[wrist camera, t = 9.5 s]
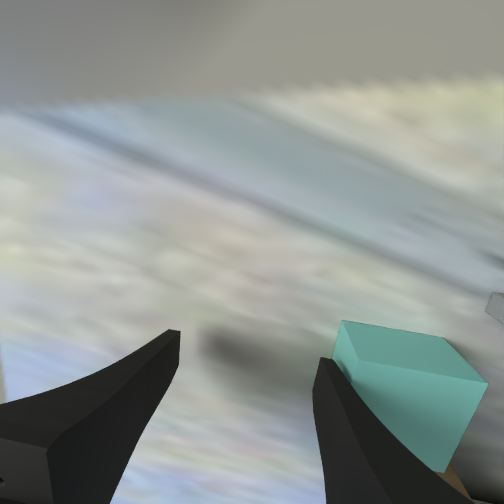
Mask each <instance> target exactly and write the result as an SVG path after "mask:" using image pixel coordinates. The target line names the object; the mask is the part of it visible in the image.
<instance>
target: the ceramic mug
mask: <svg viewBox="0 0 504 504" xmlns="http://www.w3.org/2000/svg"><path fill="white" fill-rule="evenodd" d="M472 501H473V502H474V503H475V504H491V503H487V502H483V501H478V500H473V499H472Z"/></svg>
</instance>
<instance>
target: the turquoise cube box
mask: <svg viewBox="0 0 504 504" xmlns="http://www.w3.org/2000/svg"><path fill="white" fill-rule="evenodd" d="M332 359H333V360H334V361H335V362H336V364H337V365H338V367H339V368H340V370H341V371H342V372H343V374H344V375H345V377H346V378H347V380H348V381H349V382H350V384H351V385H352V387H353V388H354V389H355V391H356V392H357V393H358V395H359V396H360V397H361V399H362V400H363V401H364V402H365V404H366V405H367V406H368V407H369V408H370V410H371V411H372V412H373V413H374V414H375V416H376V417H377V418H378V419H379V420H380V421H381V422H382V423H383V424H384V425H385V426H386V428H387V429H388V430H389V431H390V432H391V433H392V434H393V435H394V436H395V437H396V438H397V439H398V440H399V441H400V442H401V443H402V444H403V445H404V446H405V447H406V448H408V449H409V450H410V451H411V452H412V453H413V454H414V455H415V456H416V457H417V458H418V459H420V460H421V461H422V462H423V463H424V464H425V465H426V466H428V467H429V468H430V469H431V470H432V471H436V472H441V473H444V472H445V470H446V468H447V466H448V464H449V462H450V460H451V458H452V456H453V454H454V452H455V450H456V448H457V446H458V444H459V442H460V440H461V438H462V436H463V434H464V432H465V430H466V428H467V426H468V424H469V422H470V420H471V418H472V416H473V414H474V412H475V410H476V408H477V406H478V404H479V402H480V400H481V398H482V396H483V394H484V392H485V390H486V388H487V386H488V383H487V381H486V380H485V379H484V378H483V377H482V376H481V375H480V374H479V373H478V372H477V371H476V370H475V369H474V368H473V367H472V366H471V365H470V364H469V363H468V362H467V361H466V360H465V359H464V358H463V357H462V356H461V355H460V354H459V353H458V352H457V351H456V350H455V349H454V348H453V347H452V346H451V345H450V344H449V343H448V342H447V341H446V340H445V339H444V338H442V337H436V336H430V335H425V334H419V333H413V332H407V331H402V330H396V329H390V328H384V327H379V326H373V325H367V324H361V323H355V322H350V321H344V320H342V322H341V326H340V330H339V333H338V337H337V341H336V345H335V348H334V352H333V356H332Z"/></svg>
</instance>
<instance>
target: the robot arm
mask: <svg viewBox="0 0 504 504" xmlns="http://www.w3.org/2000/svg"><path fill="white" fill-rule="evenodd" d="M180 333H181V331H176V330H171V329H168V330H167V331H165V332H164V333H162V334H161V335H159V336H158V337H156V338H155V339H153V340H152V341H150V342H149V343H147V344H146V345H144V346H143V347H141V348H139V349H138V350H136V351H135V352H133V353H131V354H130V355H128V356H126V357H124V358H123V359H121V360H119V361H117V362H116V363H114V364H112V365H110V366H108V367H106V368H104V369H102V370H100V371H98V372H96V373H93V374H91V375H89V376H86V377H84V378H81V379H79V380H76V381H74V382H72V383H69V384H66V385H64V386H61V387H58V388H55V389H52V390H49V391H46V392H43V393H40V394H37V395H33V396H30V397H26V398H22V399H19V400H15V401H11V402H8V403H4V404H0V504H110V502H111V500H112V497H113V495H114V493H115V490H116V488H117V486H118V484H119V481H120V479H121V477H122V475H123V472H124V470H125V468H126V466H127V464H128V461H129V459H130V457H131V455H132V453H133V451H134V449H135V447H136V444H137V442H138V440H139V438H140V436H141V434H142V433H143V431H144V429H145V427H146V425H147V424H148V422H149V420H150V418H151V417H152V415H153V413H154V412H155V410H156V408H157V406H158V405H159V403H160V401H161V400H162V398H163V396H164V394H165V393H166V391H167V389H168V387H169V386H170V384H171V382H172V379H173V377H174V375H175V373H176V370H177V368H178V365H179V351H180ZM312 394H313V412H314V419H315V425H316V431H317V436H318V442H319V448H320V454H321V460H322V465H323V473H324V481H325V493H326V504H475V503H474V502H472V501H471V500H470V499H468V498H467V497H466V496H464V495H463V494H461V493H460V492H459V491H457V490H456V489H455V488H453V487H452V486H451V485H449V484H448V483H447V482H446V481H444V480H443V479H442V478H441V477H440V476H438V475H437V474H436V473H435V472H434V471H432V470H431V469H430V468H429V467H428V466H426V465H425V464H424V463H423V462H422V461H421V460H420V459H418V458H417V457H416V456H415V455H414V454H413V453H412V452H411V451H410V450H409V449H408V448H406V447H405V446H404V445H403V444H402V443H401V442H400V441H399V440H398V439H397V438H396V437H395V436H394V435H393V434H392V433H391V432H390V431H389V430H388V429H387V428H386V426H385V425H384V424H383V423H382V422H381V421H380V420H379V419H378V418H377V417H376V416H375V414H374V413H373V412H372V411H371V410H370V408H369V407H368V406H367V405H366V404H365V402H364V401H363V400H362V399H361V397H360V396H359V395H358V393H357V392H356V391H355V389H354V388H353V387H352V385H351V384H350V382H349V381H348V380H347V378H346V377H345V375H344V374H343V372H342V371H341V370H340V368H339V367H338V365H337V364H336V362H335V361H334V360H333V359H328V358H323V357H321V358H320V362H319V366H318V370H317V374H316V378H315V382H314V386H313V390H312Z"/></svg>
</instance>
